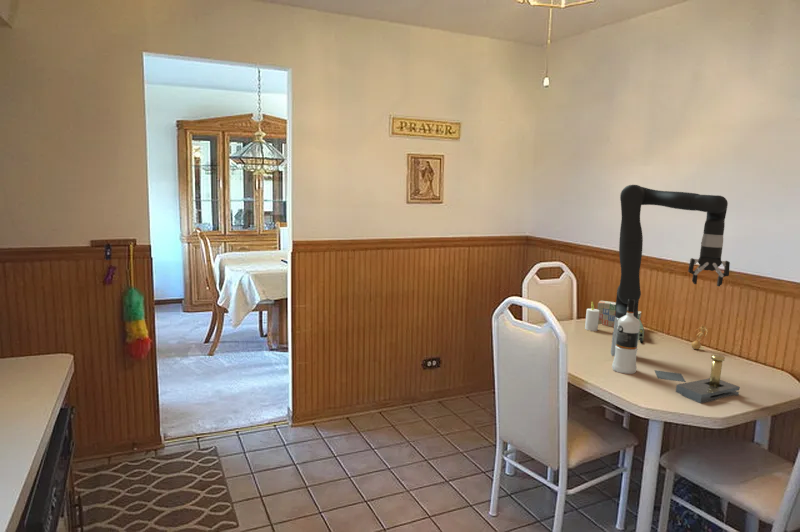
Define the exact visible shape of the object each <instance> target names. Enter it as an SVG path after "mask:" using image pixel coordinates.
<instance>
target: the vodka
mask: <svg viewBox="0 0 800 532" xmlns="http://www.w3.org/2000/svg"><path fill="white" fill-rule="evenodd" d="M634 304H635V300H633V299H628V305H627V313H626V315H625V316H623V317H621V318H620V319H619V320H618V327H617V329H618V330H617V340H616V346H615V347H616V348H615V356H614V358H613V361H612V364H611V368H612V370H613V371H614V372H615V373H616V372H617V373H621V374H626V375H633V374H636V372H637V370H638V369H637V352H638V350H639V349H638V343H639V341H638V336H639V331H640V330H639V328H640V321H639V320H638V319H637V318H636V317H634V316H633V313H634Z"/></svg>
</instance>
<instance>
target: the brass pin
mask: <svg viewBox="0 0 800 532" xmlns="http://www.w3.org/2000/svg"><path fill="white" fill-rule="evenodd" d="M710 359H711V360H712V361H711V368H710V376H709V378H710V383H709V385H710V386H713V387H715V388H718V387H719V384H720V380H721V376H722V375H721V374H722V369H723V362H724V361H725V360H726V357H725V356H724V355H720V354H710Z"/></svg>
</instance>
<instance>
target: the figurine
mask: <svg viewBox="0 0 800 532" xmlns="http://www.w3.org/2000/svg"><path fill="white" fill-rule="evenodd" d="M698 330H700V331H699V332H698V333H697V334H696V338H697V339H696V340H693V341H692V342H691V348H692V349H694V350H699V349H701V348H702V345H701V342H700V341H701V340H702V337H703V336H704V338H707V337H708V336H707V335H708V333H709V331H708V327H707V326H706V325H704V324H701V325H700V327H698V328H696V329H695V331H694V333H696V332H697V331H698ZM705 332H706V333H705ZM704 334H705V335H704Z"/></svg>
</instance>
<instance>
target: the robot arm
mask: <svg viewBox="0 0 800 532" xmlns="http://www.w3.org/2000/svg"><path fill="white" fill-rule="evenodd" d="M619 196H620V197H619V198H620V199H619V200H620V210H621V211H620V212H621V213H620V214H621V220H620V221H621V222H620V232H619V242H618V243H619V244H618V250H619V251H618V252H619V255H618V257H619V265H620V280H619V282H620V283H619V285H618V286H617V290H616V299H615V302H616V308H615V321H614V327H613V331H612V336H611V337H612V340H611V347H610V354H611V356H612V357H613V356H614V357H615V348H616V347H615V346H616V340H617V330H618V329H617V327H618V320H619V319H620V318H621V317H623V316H625V315H626V313H627V305H628V299H633V300H635V304H634V313H633V316H634V317H636V318H637V319H638V311H639V302H640V298H641V295H642V292H641V282H640V271H641V263H642V257H643V256H642V255H643V246H644V245H643V243H644V242H643V241H644V240H643V239H644V238H643V230H642V224H641V223H642V222H641V211H642V210H641V209H642V206H649V205H650V206H660V207H666V208H670V209H677V210H683V211H684V210H685V211H698V212H703V213H706V218H705V221H704V226H703V233H702V238H701V242H700V252H699V257H698V259H697V258H693V257H692V258H690V260H689V265H688V270H687V272H688V273H689V274H692V277H691V278H692V279H691V280H692V281H691V282H692V283H693V284H694V285H697V284H698V283H697V282H698V274H699V273H700V272H702V271H709V272H713V271H715V272H716V273H717V275H718V276H717V280H716V281H717V282H716V287H721V286H722V285H723V280H724V279H723V278H724V277H729V276H730V265H731V263H730V261H728V260H722V256H723V255H722V253H723V248H724V232H725V223H726V222H725V219H726V216H727V210H728V204H729V203H728V200H727V199H726V197H724V196H722V195H713V194H711V195H710V194H699V193H695V192H694V193H693V192H687V191H685V192H684V191H673V190H672V191H669V190H668V191H667V190H658V189H653V188H652V189H651V188H648V187H644V186H641V185H639V184H629V185H626V186H625V187H624V188H623V189H622V190H621V192H620V195H619ZM697 263H698V264H699V265H698V266H697V267H696V268H695V270H694V267H695V265H697ZM721 265H722V266H723V267H724V268H723V269H724V270H723V272H722V270H721V269H720V268H719V267H721Z"/></svg>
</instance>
